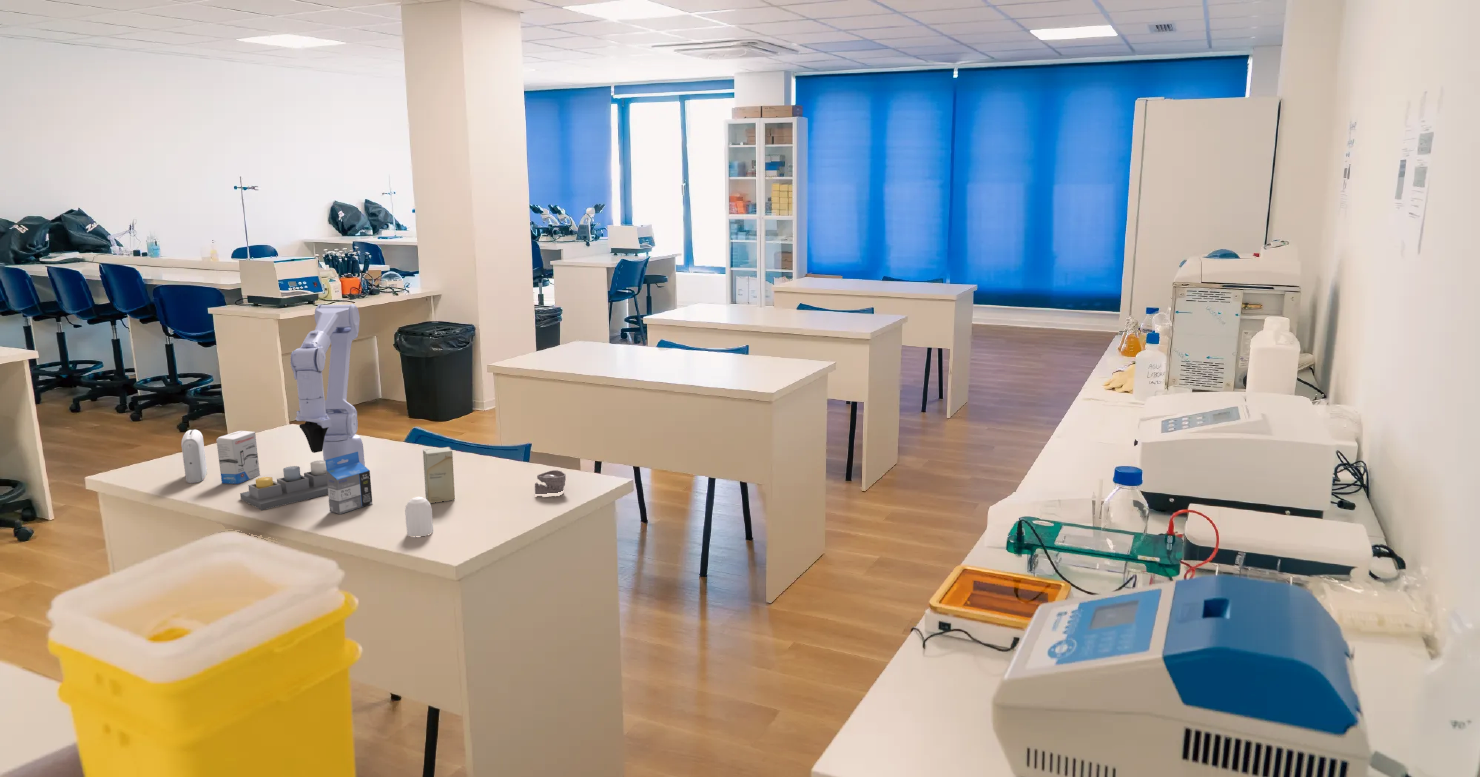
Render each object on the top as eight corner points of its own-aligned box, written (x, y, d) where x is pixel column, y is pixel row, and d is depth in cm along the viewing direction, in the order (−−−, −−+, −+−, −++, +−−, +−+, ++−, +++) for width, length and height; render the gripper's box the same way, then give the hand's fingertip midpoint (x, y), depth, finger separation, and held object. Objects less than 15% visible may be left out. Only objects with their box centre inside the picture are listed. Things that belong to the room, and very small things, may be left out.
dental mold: (547, 501, 224) (546, 480, 223) (529, 495, 229) (528, 475, 228) (574, 493, 230) (573, 473, 229) (556, 487, 234) (555, 468, 233)
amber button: (269, 487, 227) (268, 475, 226) (276, 490, 224) (275, 478, 224) (254, 490, 224) (252, 479, 224) (260, 493, 222) (259, 482, 221)
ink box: (237, 484, 237) (232, 439, 235) (220, 483, 238) (214, 438, 236) (261, 474, 246) (256, 430, 243) (244, 473, 247) (239, 429, 244)
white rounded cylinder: (437, 528, 206) (434, 493, 204) (427, 537, 201) (425, 501, 199) (412, 528, 206) (409, 493, 204) (403, 537, 201) (400, 501, 199)
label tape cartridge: (339, 515, 215) (334, 462, 212) (329, 512, 217) (324, 460, 214) (373, 504, 222) (368, 453, 220) (362, 501, 224) (358, 450, 222)
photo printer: (204, 482, 240) (198, 434, 237) (184, 484, 238) (178, 436, 236) (208, 471, 249) (203, 425, 247) (190, 473, 247) (184, 427, 245)
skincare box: (428, 504, 222) (424, 454, 220) (425, 498, 226) (421, 449, 223) (456, 500, 225) (452, 450, 222) (452, 494, 229) (449, 446, 226)
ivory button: (323, 470, 236) (322, 459, 235) (330, 473, 234) (328, 462, 233) (308, 473, 233) (307, 462, 233) (315, 476, 231) (314, 465, 230)
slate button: (296, 476, 231) (295, 465, 231) (303, 479, 229) (302, 468, 228) (281, 479, 229) (280, 468, 228) (288, 482, 226) (287, 471, 226)
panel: (323, 480, 241) (322, 465, 240) (346, 490, 233) (344, 474, 232) (240, 499, 226) (238, 483, 225) (261, 510, 218) (259, 493, 217)
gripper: (281, 395, 231) (287, 449, 234) (308, 404, 222) (313, 460, 225) (310, 391, 236) (316, 443, 239) (337, 399, 227) (342, 454, 230)
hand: (316, 451), depth 232 cm, fingers closed
